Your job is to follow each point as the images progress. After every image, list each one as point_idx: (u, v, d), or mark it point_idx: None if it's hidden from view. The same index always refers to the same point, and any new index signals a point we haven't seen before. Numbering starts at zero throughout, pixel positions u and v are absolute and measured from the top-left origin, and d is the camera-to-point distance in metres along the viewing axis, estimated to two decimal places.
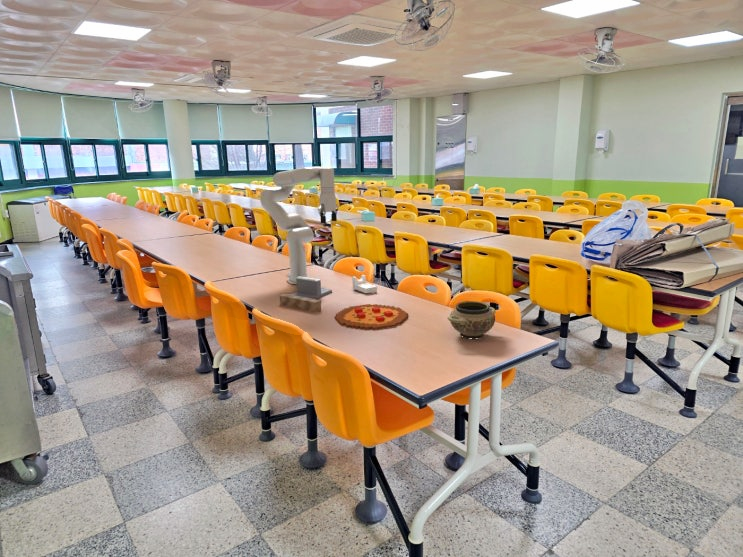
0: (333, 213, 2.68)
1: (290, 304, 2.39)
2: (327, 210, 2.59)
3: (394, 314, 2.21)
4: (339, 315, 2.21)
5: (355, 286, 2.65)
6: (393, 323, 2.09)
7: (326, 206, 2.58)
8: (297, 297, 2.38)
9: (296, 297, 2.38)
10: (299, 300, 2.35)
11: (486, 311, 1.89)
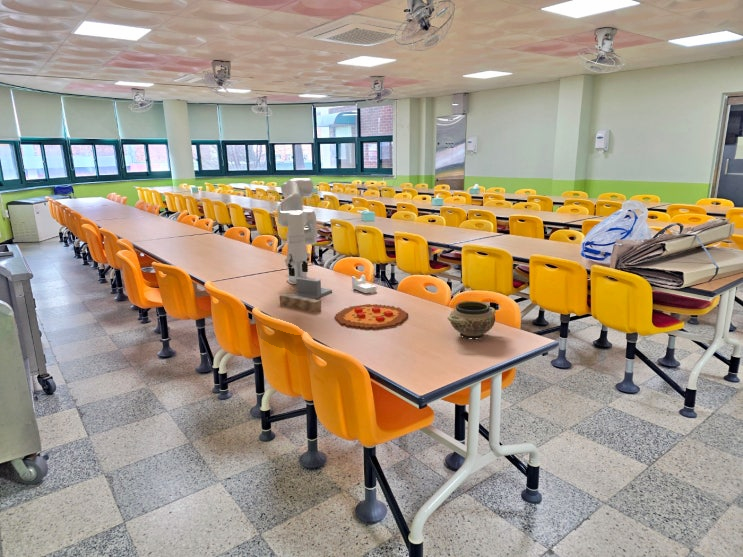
0: (304, 263, 2.37)
1: (290, 304, 2.39)
2: (296, 261, 2.29)
3: (394, 314, 2.21)
4: (339, 315, 2.21)
5: (355, 286, 2.66)
6: (393, 323, 2.09)
7: (295, 257, 2.28)
8: (297, 297, 2.38)
9: (296, 297, 2.38)
10: (299, 300, 2.35)
11: (486, 311, 1.89)
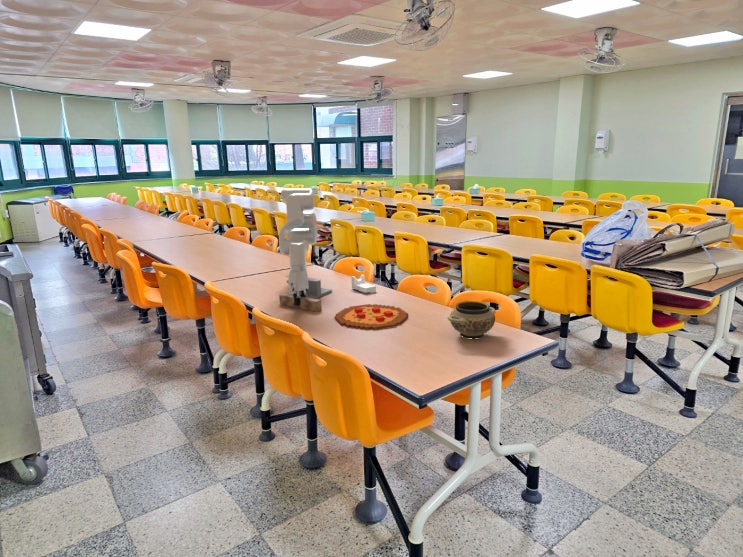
0: (302, 293, 2.38)
1: (290, 304, 2.39)
2: (297, 290, 2.32)
3: (394, 314, 2.21)
4: (339, 315, 2.21)
5: (354, 286, 2.66)
6: (393, 323, 2.09)
7: (296, 286, 2.31)
8: None
9: None
10: None
11: (486, 311, 1.89)
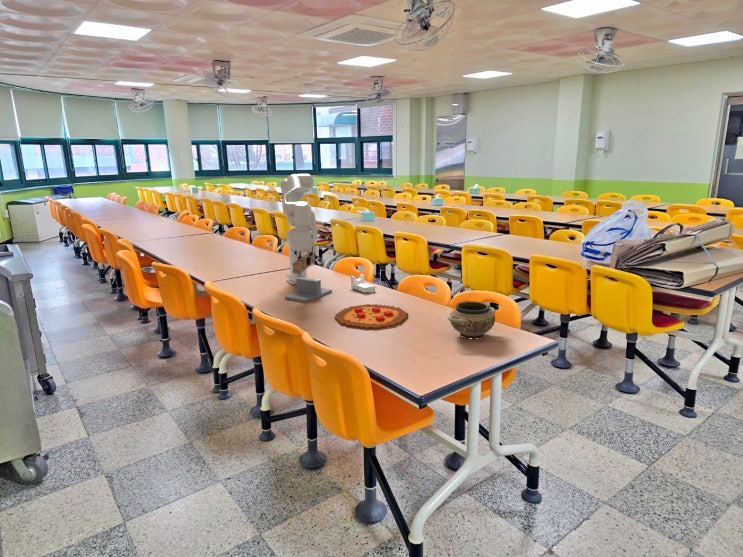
0: None
1: None
2: (295, 249, 2.44)
3: (394, 314, 2.21)
4: (339, 315, 2.21)
5: (353, 285, 2.67)
6: (393, 323, 2.09)
7: (294, 245, 2.43)
8: (305, 257, 2.48)
9: (305, 257, 2.48)
10: None
11: (486, 311, 1.89)
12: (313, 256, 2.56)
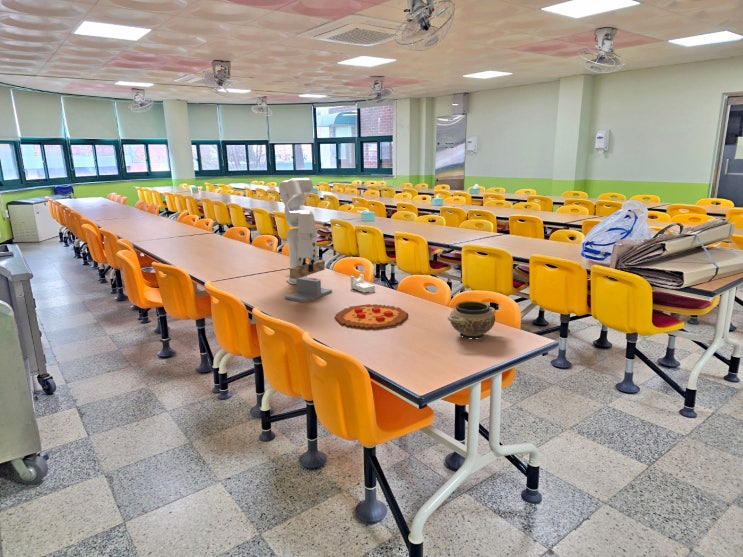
0: None
1: None
2: (299, 255, 2.52)
3: (394, 314, 2.21)
4: (339, 315, 2.21)
5: (353, 285, 2.67)
6: (393, 323, 2.09)
7: (298, 251, 2.52)
8: None
9: None
10: None
11: (486, 311, 1.89)
12: (322, 264, 2.61)
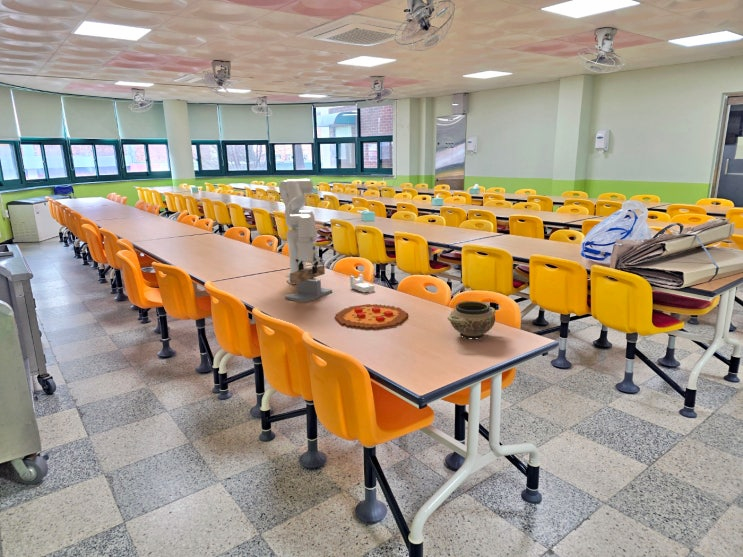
0: None
1: None
2: (299, 259, 2.53)
3: (394, 314, 2.21)
4: (339, 315, 2.21)
5: (353, 285, 2.67)
6: (393, 323, 2.09)
7: (298, 255, 2.53)
8: (309, 268, 2.55)
9: (310, 268, 2.56)
10: None
11: (486, 311, 1.89)
12: (322, 268, 2.62)
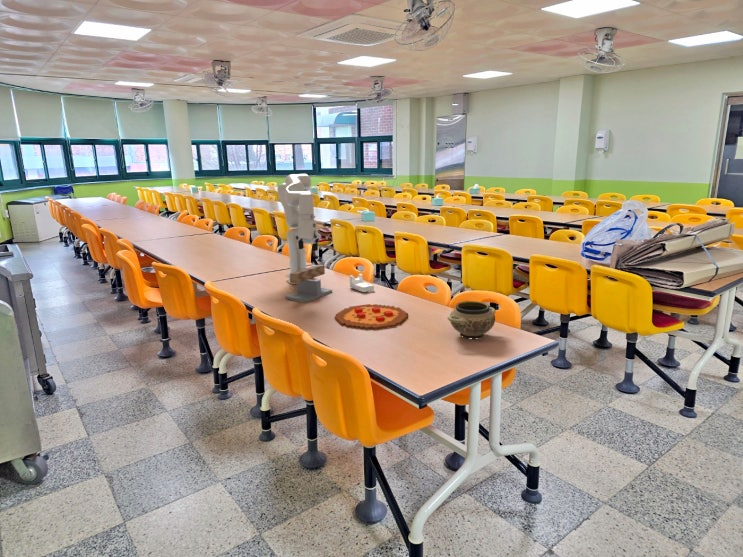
0: None
1: None
2: (299, 236, 2.52)
3: (394, 314, 2.21)
4: (339, 315, 2.21)
5: (352, 285, 2.68)
6: (393, 323, 2.09)
7: (298, 232, 2.52)
8: (309, 268, 2.55)
9: (310, 268, 2.56)
10: None
11: (486, 311, 1.89)
12: (322, 268, 2.62)
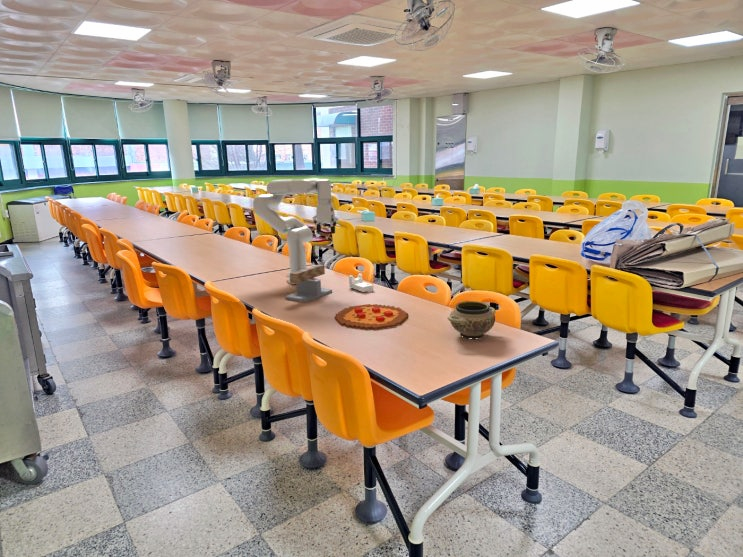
0: None
1: None
2: (318, 220, 2.69)
3: (394, 314, 2.21)
4: (339, 315, 2.21)
5: (352, 285, 2.68)
6: (393, 323, 2.09)
7: (316, 216, 2.69)
8: (309, 268, 2.55)
9: (310, 268, 2.56)
10: None
11: (486, 311, 1.89)
12: (322, 268, 2.62)
